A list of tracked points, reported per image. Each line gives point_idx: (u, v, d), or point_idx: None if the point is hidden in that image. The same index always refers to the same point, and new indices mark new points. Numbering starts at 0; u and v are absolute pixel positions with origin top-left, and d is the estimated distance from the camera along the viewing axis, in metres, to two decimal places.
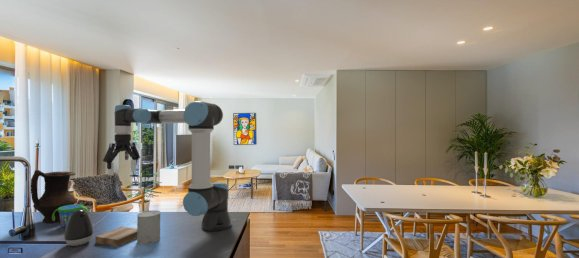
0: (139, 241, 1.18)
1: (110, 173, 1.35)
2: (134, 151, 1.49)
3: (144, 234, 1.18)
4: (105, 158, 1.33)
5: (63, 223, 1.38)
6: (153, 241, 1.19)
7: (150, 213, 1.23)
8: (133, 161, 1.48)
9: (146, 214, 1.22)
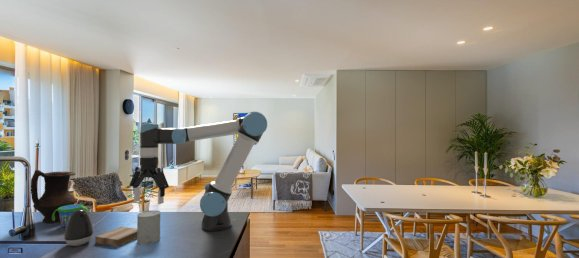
0: (139, 241, 1.18)
1: None
2: None
3: (144, 234, 1.18)
4: None
5: (63, 223, 1.38)
6: (153, 241, 1.19)
7: (150, 213, 1.23)
8: None
9: (146, 214, 1.22)
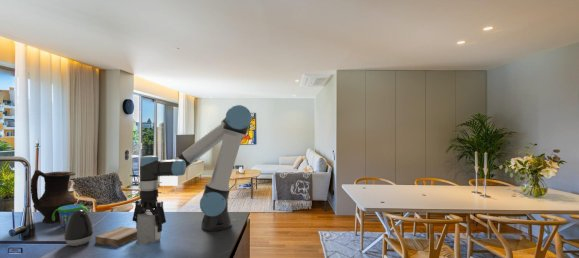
0: (139, 241, 1.18)
1: None
2: None
3: (144, 234, 1.18)
4: None
5: (63, 223, 1.38)
6: (153, 241, 1.19)
7: (150, 213, 1.23)
8: None
9: (146, 214, 1.22)
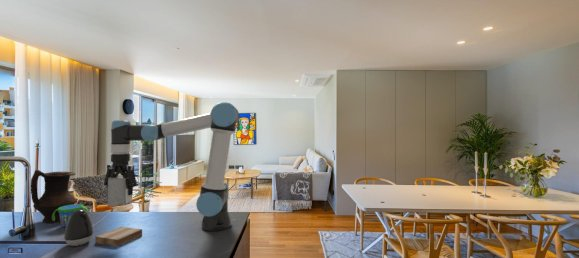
0: (109, 203, 1.19)
1: None
2: None
3: (114, 196, 1.19)
4: None
5: (63, 223, 1.38)
6: (123, 204, 1.21)
7: (121, 177, 1.25)
8: None
9: (117, 178, 1.23)
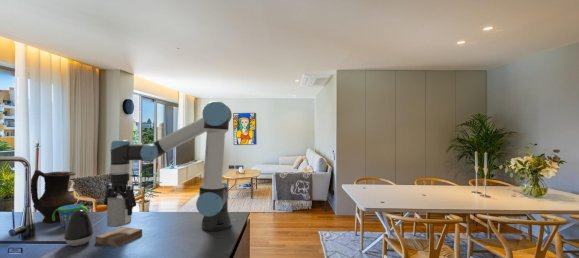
0: (109, 224, 1.19)
1: None
2: None
3: (114, 216, 1.19)
4: None
5: (63, 223, 1.38)
6: (123, 224, 1.21)
7: (121, 197, 1.25)
8: None
9: (117, 197, 1.23)
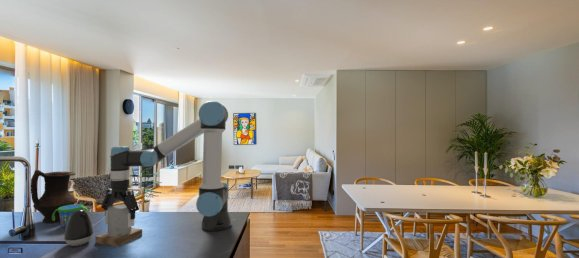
0: (109, 233, 1.19)
1: None
2: None
3: (114, 226, 1.19)
4: None
5: (63, 223, 1.38)
6: (123, 233, 1.21)
7: (121, 206, 1.24)
8: None
9: (117, 207, 1.23)
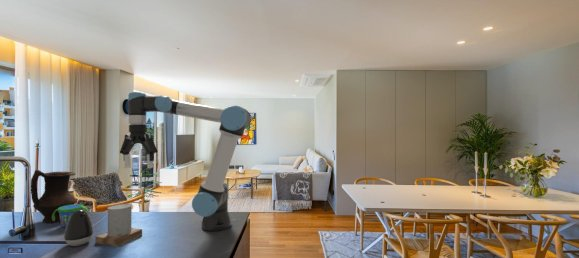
0: (109, 233, 1.19)
1: None
2: None
3: (114, 226, 1.19)
4: None
5: (63, 223, 1.38)
6: (123, 233, 1.21)
7: (121, 206, 1.24)
8: None
9: (117, 207, 1.23)
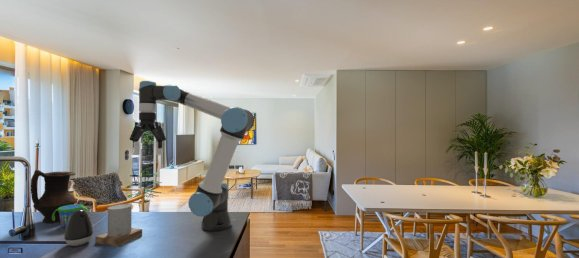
0: (109, 233, 1.19)
1: None
2: None
3: (114, 226, 1.19)
4: None
5: (63, 223, 1.38)
6: (123, 233, 1.21)
7: (121, 206, 1.24)
8: None
9: (117, 207, 1.23)
